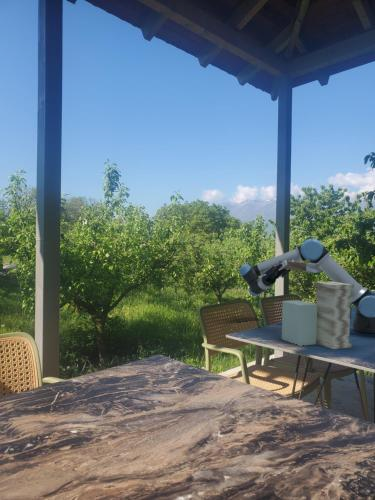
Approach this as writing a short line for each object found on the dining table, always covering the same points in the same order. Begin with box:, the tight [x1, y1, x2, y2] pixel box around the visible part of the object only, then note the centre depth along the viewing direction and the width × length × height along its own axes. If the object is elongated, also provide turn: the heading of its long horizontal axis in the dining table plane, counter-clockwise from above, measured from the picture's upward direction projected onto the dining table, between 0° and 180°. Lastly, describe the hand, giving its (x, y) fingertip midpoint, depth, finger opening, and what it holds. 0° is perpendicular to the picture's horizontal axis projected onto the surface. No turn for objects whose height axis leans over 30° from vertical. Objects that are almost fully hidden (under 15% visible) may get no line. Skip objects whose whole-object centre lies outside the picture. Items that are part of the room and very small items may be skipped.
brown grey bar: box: [279, 261, 322, 273], centre depth 200 cm, size 4×28×4 cm, turn 23°
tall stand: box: [313, 281, 354, 350], centre depth 192 cm, size 12×14×30 cm
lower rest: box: [281, 299, 317, 347], centre depth 197 cm, size 10×14×20 cm
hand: (289, 262), depth 207 cm, fingers closed on brown grey bar, 4 cm apart
